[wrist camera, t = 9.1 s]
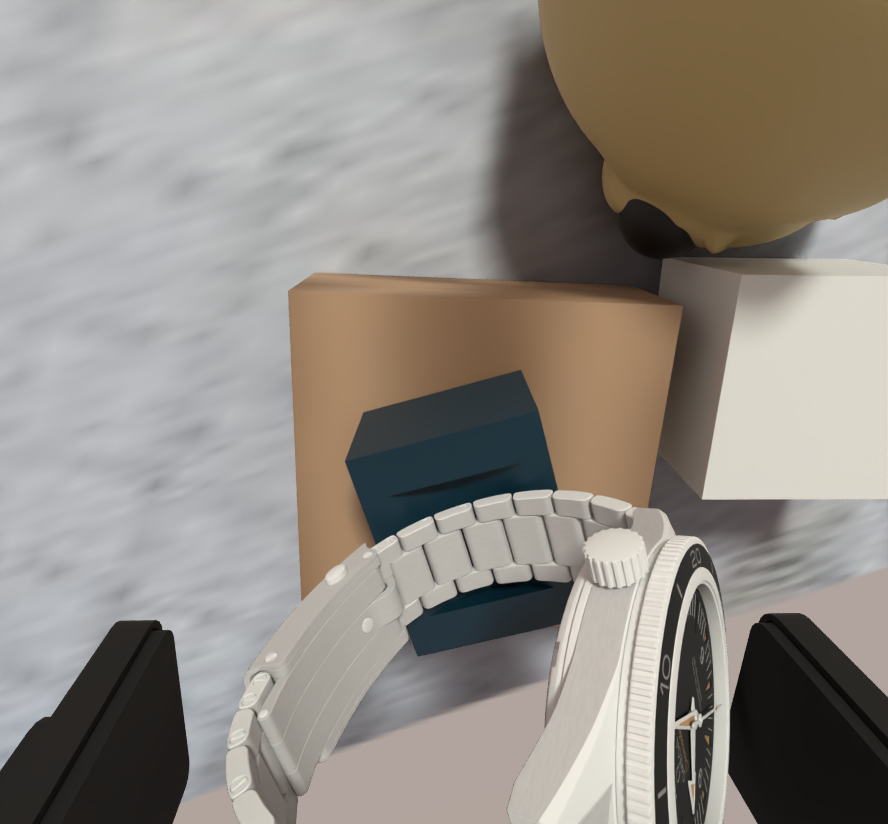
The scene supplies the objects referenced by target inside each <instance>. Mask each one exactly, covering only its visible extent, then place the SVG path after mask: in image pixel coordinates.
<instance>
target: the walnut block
mask: <svg viewBox="0 0 888 824" xmlns="http://www.w3.org/2000/svg"><path fill="white" fill-rule="evenodd" d="M288 296H289V319H290V342H291V366H292V389H293V413H294V436H295V459H296V483H297V506H298V530H299V553H300V577H301V600H302V601H303V600H304V599H305V597H306V596H307V595H308V594H309V593H310V592H311V591H312V590H313V589H314V588H315V587H316V586H317V585H318V584H319V583H320V582H321V581H322V580H323V579H324V578H325V576H326V574H327V573H328V572H329V571H330V570H331V569H332V568H333V567H335V566H337V565H339V564H340V563H342V562H343V561H344V560H345V559H346V558H347V557H348V556H350V555H351V554H352V553H353V552H354V551H355V550H357V549H358V548H359V547H360V546H361V545H363V544H364V543H366V545H367V548H372V547H374V546H375V545H376V544H375V541H374V538H373V536H372V533H371V530H370V528H369V525H368V522H367V520H366V517H365V514H364V512H363V509H362V506H361V504H360V501H359V498H358V496H357V493H356V490H355V488H354V485H353V482H352V480H351V477H350V474H349V471H348V469H347V466H346V463H345V459H346V457H347V454H348V451H349V449H350V446H351V443H352V441H353V438H354V436H355V433H356V430H357V428H358V425H359V423H360V420H361V417H362V415H363V412H366V411H370V410H374V409H378V408H381V407H385V406H389V405H392V404H396V403H400V402H403V401H407V400H411V399H415V398H418V397H422V396H426V395H429V394H433V393H437V392H440V391H444V390H448V389H452V388H455V387H459V386H463V385H466V384H470V383H474V382H477V381H481V380H485V379H489V378H492V377H496V376H500V375H503V374H507V373H511V372H515V371H518V370H521V371H522V373H523V375H524V378H525V380H526V382H527V385H528V387H529V389H530V392H531V394H532V396H533V399H534V401H535V403H536V405H537V408H538V410H539V414H540V418H541V422H542V426H543V430H544V434H545V438H546V443H547V447H548V451H549V455H550V459H551V463H552V467H553V471H554V475H555V479H556V483H557V487H558V491H559V490H564V491H580V492H588V493H592V494H593V496H594V497H595V496H597V495H601V496H606V497H610V498H614V499H618V500H621V501H624V502H627V503H630V504H631V505H632V508H633V507H637V508H648V504H649V498H650V493H651V487H652V481H653V475H654V470H655V464H656V458H657V453H658V447H659V441H660V435H661V430H662V424H663V418H664V413H665V407H666V401H667V396H668V390H669V384H670V378H671V373H672V367H673V361H674V356H675V350H676V344H677V339H678V333H679V327H680V321H681V316H682V310H683V306H682V305H680V304H677V303H675V302H672V301H670V300H667V299H665V298H662V297H660V296H657V295H654V294H652V293H649V292H647V291H644V290H642V289H639V288H637V287H634V286H632V285H609V284H584V283H559V282H534V281H508V280H483V279H458V278H433V277H407V276H382V275H357V274H332V273H314V274H313V275H311V276H310V277H308V278H307V279H305V280H304V281H302V282H301V283H299V284H298V285H296V286H295V287H293V288H292V289H290V290H289V291H288ZM551 627H560V624H559V625H555V626H551Z"/></svg>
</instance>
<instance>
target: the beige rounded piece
mask: <svg viewBox="0 0 888 824" xmlns="http://www.w3.org/2000/svg"><path fill="white" fill-rule="evenodd" d="M538 6H539V17H540V25H541V32H542V37H543V42H544V47H545V51H546V55H547V58H548V62H549V65H550V68H551V71H552V74H553V77H554V80H555V82H556V85H557V87H558V89H559V92H560V94H561V96H562V98H563V100H564V102H565V104H566V106H567V108H568V110H569V111H570V113H571V115H572V116H573V118H574V120H575V121H576V123H577V124H578V126H579V127H580V128H581V130H582V131H583V132H584V134H585V135H586V136H587V138H588V139H589V140H590V141H591V142H592V144H593V145H594V146H595V147H596V148H597V150H598V151H599V152H600V154H601V155H602V156H603V158H604V164H603V171H602V186H603V192H604V195H605V198H606V201H607V203H608V204H609V206H610V207H611V209H612V210H613V211H615V212H616V213H618V222H619V227H620V230H621V233H622V235H623V237H624V239H625V240H626V242H627V243H628V244H629V245H630V246H631V247H632V248H633V249H634V250H635V251H636V252H638V253H639V254H641V255H643V256H646V257H649V258H655V259H667V258H673V257H677V256H680V255H682V254H684V253H686V252H688V251H690V250H692V249H693V248H695V247H696V246H697V247H700V248H707V250H708V251H709V252H711V253H719V252H722V251H723V250H724V249H725V248H738V247H747V246H754V245H759V244H763V243H767V242H771V241H774V240H777V239H779V238H782V237H785V236H787V235H789V234H791V233H793V232H795V231H797V230H799V229H801V228H803V227H805V226H806V225H808V224H810V223H812V222H813V221H819V220H825V219H832V220H835V219H838V218H840V217H842V216H844V215H847V214H851V213H854V212H857V211H860V210H863V209H865V208H868V207H870V206H872V205H875V204H877V203H879V202H881V201H883V200H885V199H887V198H888V0H538Z"/></svg>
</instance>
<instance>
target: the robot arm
mask: <svg viewBox="0 0 888 824" xmlns="http://www.w3.org/2000/svg"><path fill="white" fill-rule="evenodd" d="M728 773H729V775H730V777H731V779H732V780H733V782H734V784H735V786H736V787H737V789H738V791H739V792H740V794H741V796H742V798H743V799H744V801H745V803H746V804H747V806H748V807H749V809H750V811H751V813H752V815H753V816H754V818H755V820H756V822H757V823H758V824H888V697H887V696H886V695H885V694H884V693H883V692H882V691H881V690H880V689H879V688H878V687H877V686H876V685H875V684H874V683H873V682H872V681H871V680H870V679H869V678H868V677H867V676H866V675H865V674H864V673H863V672H862V671H861V670H860V669H859V668H858V667H857V666H856V665H855V664H854V663H853V662H852V661H851V660H850V659H849V658H848V657H847V656H846V655H845V654H844V653H843V652H842V651H841V650H840V649H839V648H838V647H837V646H836V645H835V644H834V643H833V642H832V641H831V640H830V639H829V638H828V637H827V636H826V635H825V634H824V633H823V632H822V631H821V630H820V629H819V628H818V627H817V626H816V625H815V624H814V623H813V622H812V621H811V620H810V619H809V618H807V617H806V616H805V615H803V614H800V613H773V614H772V613H771V614H765V615H763V616H762V617H761V618H760V621H759V623H755V624H754V625H753V626H752V628H751V630H750V634H749V638H748V642H747V646H746V650H745V654H744V658H743V662H742V666H741V670H740V674H739V678H738V682H737V686H736V690H735V693H734V697H733V701H732V705H731V709H730V740H729V765H728ZM188 774H189V754H188V746H187V738H186V730H185V722H184V714H183V706H182V698H181V690H180V682H179V674H178V666H177V658H176V651H175V643H174V636H173V633H172V631H170V630H162V625H161V624H160V622H159V621H157V620H144V621H118V622H116V623H115V624H114V626H113V627H112V628H111V629H110V631H109V632H108V634H107V635H106V637H105V638H104V640H103V641H102V643H101V644H100V646H99V647H98V648H97V650H96V651H95V653H94V654H93V656H92V657H91V659H90V660H89V662H88V663H87V665H86V666H85V668H84V669H83V670H82V672H81V673H80V675H79V676H78V678H77V679H76V681H75V682H74V684H73V685H72V687H71V688H70V690H69V691H68V692H67V694H66V695H65V697H64V698H63V700H62V701H61V703H60V704H59V706H58V707H57V709H56V710H55V712H54V713H53V714H52V716H51V717H44V718H42V719H41V720H39V721H38V722H36V723H35V724H34V726H33V727H32V728H31V729H30V730H29V731H28V732H27V734H26V735H25V737H24V738H23V740H22V741H21V742H20V744H19V745H18V747H17V748H16V749H15V751H14V752H13V754H12V755H11V757H10V758H9V759H8V761H7V762H6V764H5V765H4V766H3V768H2V769H1V771H0V824H172V823H173V821H174V818H175V815H176V812H177V810H178V807H179V804H180V802H181V799H182V796H183V793H184V791H185V788H186V784H187V780H188Z"/></svg>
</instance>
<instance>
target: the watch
mask: <svg viewBox="0 0 888 824" xmlns="http://www.w3.org/2000/svg"><path fill="white" fill-rule="evenodd" d="M345 463H346V466H347V469H348V471H349V474H350V477H351V480H352V482H353V485H354V488H355V490H356V493H357V496H358V498H359V501H360V504H361V506H362V509H363V512H364V514H365V517H366V520H367V522H368V525H369V528H370V530H371V533H372V536H373V538H374V541H375V544H376V545H375V546H374V547H372V548H367V545H366V543H364V544H363V545H361V546H360V547H359V548H358V549H357V550H355V551H354V552H353V553H352V554H351V555H350V556H348V557H347V558H346V559H345V560H344V561H343V562H342V563H340V564H339V565H337V566H335V567H333V568H332V569H331V570H330V571H329V572H328V573H327V574H326V576H325V578H324V579H323V580H322V581H321V582H320V583H319V584H318V585H317V586H316V587H315V588H314V589H313V590H312V591H311V592H310V593H309V594H308V595H307V596H306V597H305V599H304V600H303V601H302V602H301V603H300V604H299V605H298V606H297V607H296V608H295V610H294V611H293V612H292V613H291V614H290V615H289V617H288V618H287V619H286V620H285V621H284V623H283V624H282V625H281V626H280V628H279V629H278V630H277V631H276V633H275V634H274V635H273V636H272V638H271V639H270V640H269V642H268V643H267V644H266V646H265V647H264V648H263V650H262V651H261V652H260V654H259V655H258V656H257V658H256V659H255V661H254V662H253V663H252V665H251V666H250V668H249V669H248V671H247V672H246V674H245V676H244V678H243V679H244V685H245V693H244V695H243V697H242V699H241V700H240V703H239V705H238V709H239V711H238V712H237V713H236V715H235V716H234V719H233V722H232V725H231V728H230V732H229V737H228V741H227V748H228V750H229V752H228V753H227V756H226V783H227V789H228V794H229V797H230V799H231V800H232V802H233V805H232V806H233V810H234V813H235V815H236V817H237V819H238V821H239V823H240V824H296V814H297V813H296V812H297V803H298V798H297V796H302V795H304V794H305V793H306V792H307V791H308V789H309V786H310V782H311V779H312V776H313V773H314V770H315V767H316V765H317V763H321V762H324V761H326V760H327V759H328V758H329V757H330V756H331V754H332V752H333V750H334V748H335V746H336V744H337V742H338V740H339V738H340V737H341V735H342V733H343V731H344V729H345V727H346V725H347V724H348V722H349V720H350V718H351V717H352V715H353V713H354V711H355V710H356V708H357V706H358V705H359V703H360V702H361V700H362V698H363V697H364V695H365V694H366V692H367V691H368V690H369V688H370V687H371V685H372V684H373V683H374V681H375V680H376V679H377V677H378V676H379V675H380V673H381V672H382V671H383V669H384V668H385V667H386V666H387V664H388V663H389V662H390V661H391V660H392V658H393V657H394V656H395V655H396V654H397V652H398V651H399V650H400V649H401V648H402V647H403V646H404V644H405V643H406V642H407V641H408V639H409V636H408V632H409V634H410V637H411V640H412V642H413V645H414V648H415V650H416V653H417V656H422V655H427V654H431V653H436V652H440V651H445V650H449V649H453V648H458V647H462V646H467V645H471V644H475V643H480V642H484V641H489V640H493V639H498V638H502V637H506V636H511V635H515V634H520V633H524V632H529V631H533V630H537V629H542V628H546V627H551V626H555V625H559V624H560V627H559V631H558V635H557V639H556V643H555V647H554V652H553V656H552V662H551V668H550V674H549V682H548V691H547V700H546V712H545V729H544V732H543V733H542V735H541V737H540V739H539V740H538V742H537V744H536V746H535V747H534V749H533V751H532V753H531V755H530V756H529V758H528V760H527V762H526V763H525V765H524V767H523V769H522V770H521V772H520V773H519V775H518V777H517V779H516V780H515V782H514V784H513V788H512V792H511V795H510V799H509V803H508V807H507V813H508V816H509V818H510V821H511V824H723V822H724V813H725V803H726V792H727V781H728V780H727V779H728V765H729V740H730V693H729V692H730V689H729V666H728V651H727V640H726V628H725V619H724V612H723V604H722V598H721V593H720V588H719V583H718V579H717V575H716V571H715V568H714V565H713V562H712V560H711V557H710V555H709V552H708V550H707V548H706V546H705V545H704V543H703V542H702V541H701V540H700V539H699V538H697V537H694V536H676V535H675V532H674V530H673V528H672V526H671V524H670V521H669V519H668V517H667V515H666V514H665V513H664V512H662V511H661V510H659V509H655V508H637V507H633V508H632V505H631V504H630V503H627V502H624V501H621V500H618V499H614V498H610V497H606V496H601V495H597V496H595V497H594V496H593V494H592V493H588V492H580V491H564V490H559V491H558V487H557V483H556V479H555V475H554V471H553V467H552V463H551V459H550V455H549V451H548V447H547V443H546V438H545V434H544V430H543V426H542V422H541V418H540V414H539V410H538V408H537V405H536V403H535V401H534V399H533V396H532V394H531V392H530V389H529V387H528V385H527V382H526V380H525V378H524V375H523V373H522V371H521V370H518V371H515V372H511V373H507V374H503V375H500V376H496V377H492V378H489V379H485V380H481V381H477V382H474V383H470V384H466V385H463V386H459V387H455V388H452V389H448V390H444V391H440V392H437V393H433V394H429V395H426V396H422V397H418V398H415V399H411V400H407V401H403V402H400V403H396V404H392V405H389V406H385V407H381V408H378V409H374V410H370V411H366V412H363V415H362V417H361V420H360V423H359V425H358V428H357V430H356V433H355V436H354V438H353V441H352V443H351V446H350V449H349V451H348V454H347V457H346V459H345ZM405 626H407V629H408V632H407V630H406V627H405Z"/></svg>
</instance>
